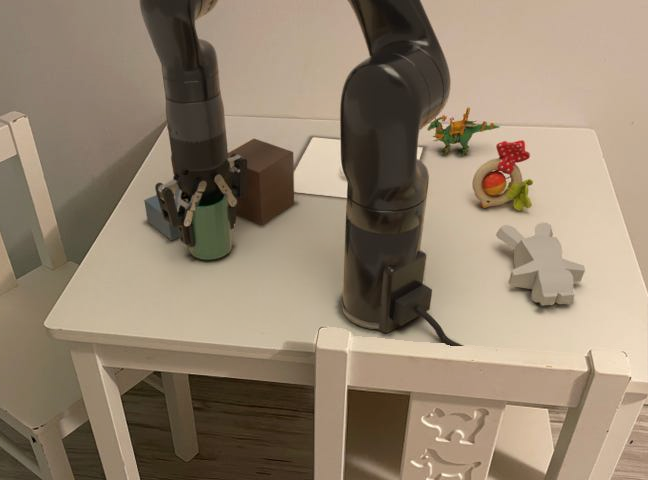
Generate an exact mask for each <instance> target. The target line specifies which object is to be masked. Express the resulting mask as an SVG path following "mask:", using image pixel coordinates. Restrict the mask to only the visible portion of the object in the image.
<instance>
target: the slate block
mask: <svg viewBox="0 0 648 480" xmlns="http://www.w3.org/2000/svg"><path fill="white" fill-rule="evenodd" d="M179 192H180V189H179V188H178V189H177V190H176V196H177V197H176V199H174V200H175V204H176V208H177V207H178V203H177V199H178V195H179ZM143 203H144V207H145V208H144V209H145V213H146V220H147V223H148V224H149V225H151V226H152V227H153V228H154V229H156V230H157V231H158V232H159V233H161V234H162V235H163V236H165V237H166V238H168V239H169V240H170V241H174V240H176V239H180V238H179V232H178V226H177V227H173V226H172V225H171V224H169V223H168V222H167V221H165V220H164V219H163V215H162V211H161V208H160V204H159V200H158V197H157V194H156V195H153V196H151V197H148V198H146V199H144V200H143Z"/></svg>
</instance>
